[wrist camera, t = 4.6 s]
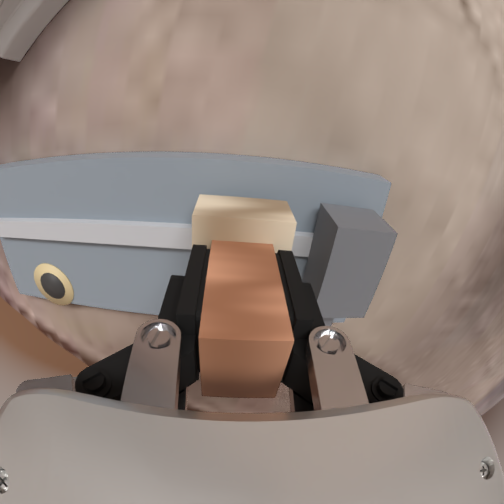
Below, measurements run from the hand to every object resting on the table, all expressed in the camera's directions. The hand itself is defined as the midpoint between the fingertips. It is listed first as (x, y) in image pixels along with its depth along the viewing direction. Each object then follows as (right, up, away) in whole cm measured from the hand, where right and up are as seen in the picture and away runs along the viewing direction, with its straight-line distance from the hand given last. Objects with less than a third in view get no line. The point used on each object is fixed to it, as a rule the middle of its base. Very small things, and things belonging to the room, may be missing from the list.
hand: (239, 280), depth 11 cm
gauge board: (-5, +2, +4) cm, 7 cm away
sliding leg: (0, 0, +4) cm, 4 cm away
